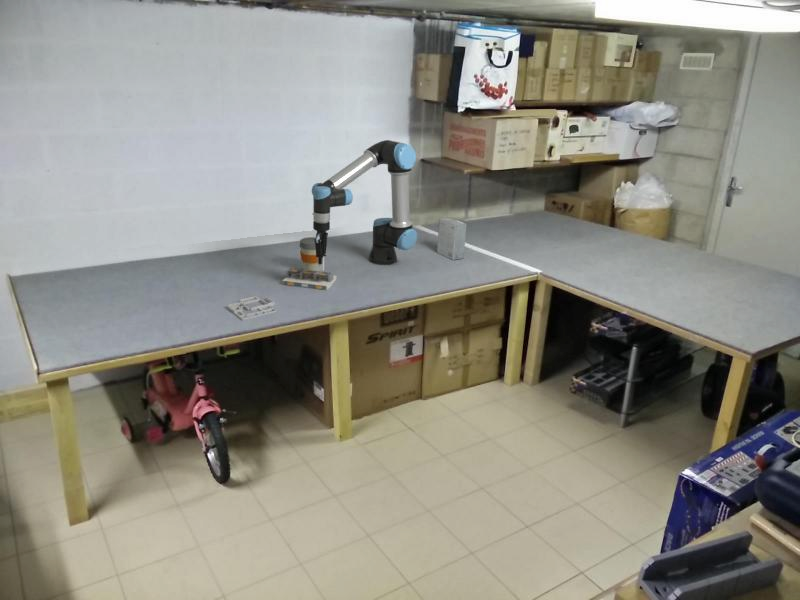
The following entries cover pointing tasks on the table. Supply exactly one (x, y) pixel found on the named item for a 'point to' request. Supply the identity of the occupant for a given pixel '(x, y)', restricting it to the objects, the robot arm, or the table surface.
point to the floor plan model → (257, 314)
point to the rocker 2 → (323, 274)
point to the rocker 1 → (295, 271)
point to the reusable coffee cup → (309, 254)
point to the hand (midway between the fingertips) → (320, 269)
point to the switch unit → (309, 280)
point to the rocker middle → (309, 273)
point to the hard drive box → (451, 238)
